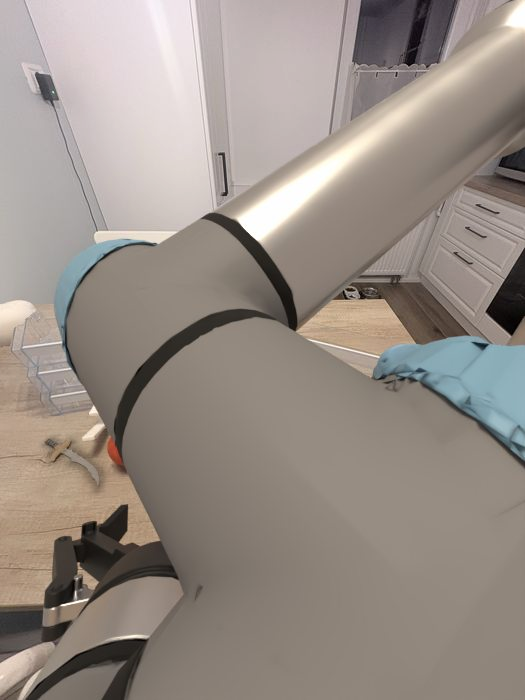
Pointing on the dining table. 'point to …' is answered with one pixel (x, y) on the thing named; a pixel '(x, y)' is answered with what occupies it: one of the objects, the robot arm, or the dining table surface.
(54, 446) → the sword
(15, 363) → the dining table surface
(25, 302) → the skull
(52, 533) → the dining table surface
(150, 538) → the dining table surface
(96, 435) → the white long bent piece
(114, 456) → the apple
